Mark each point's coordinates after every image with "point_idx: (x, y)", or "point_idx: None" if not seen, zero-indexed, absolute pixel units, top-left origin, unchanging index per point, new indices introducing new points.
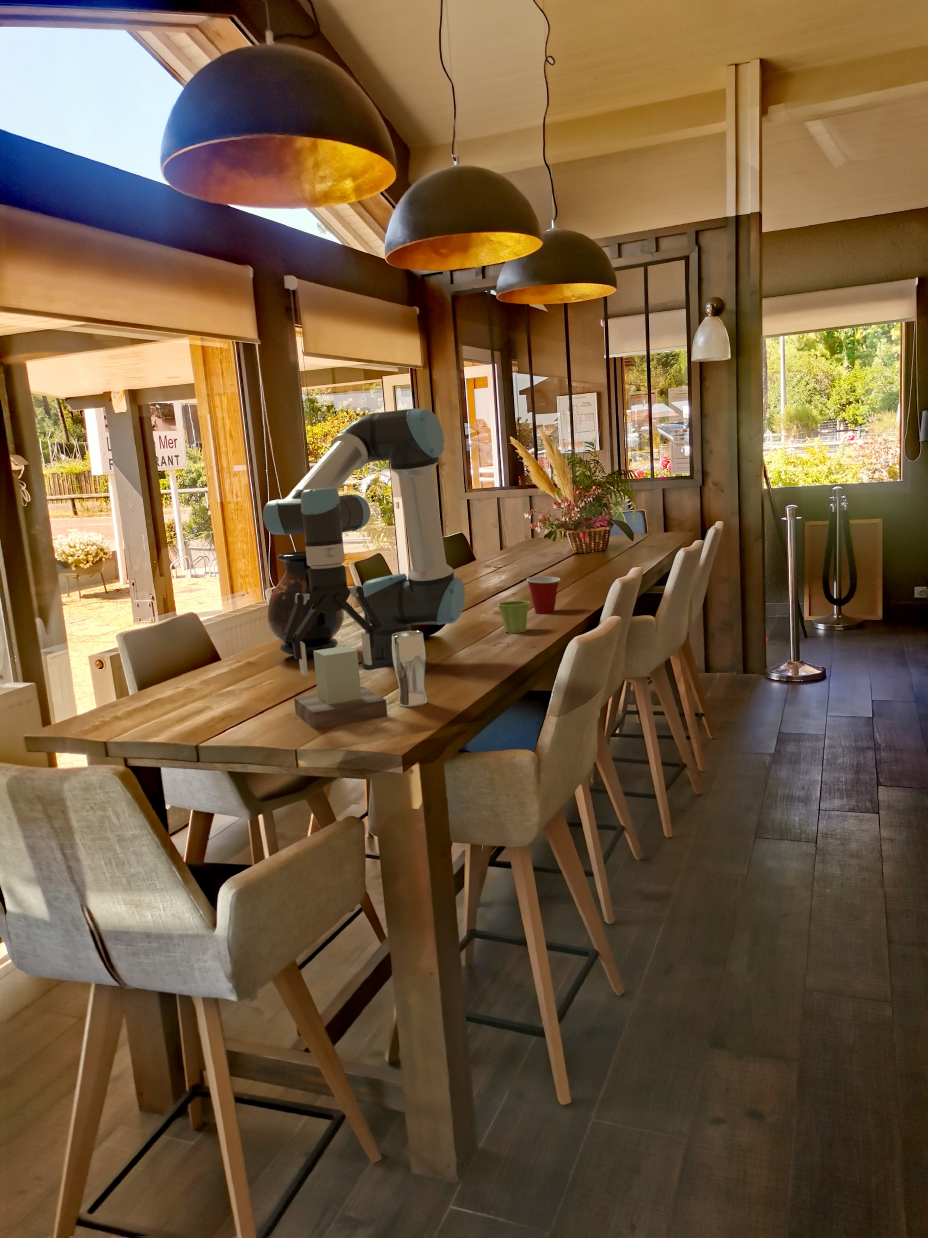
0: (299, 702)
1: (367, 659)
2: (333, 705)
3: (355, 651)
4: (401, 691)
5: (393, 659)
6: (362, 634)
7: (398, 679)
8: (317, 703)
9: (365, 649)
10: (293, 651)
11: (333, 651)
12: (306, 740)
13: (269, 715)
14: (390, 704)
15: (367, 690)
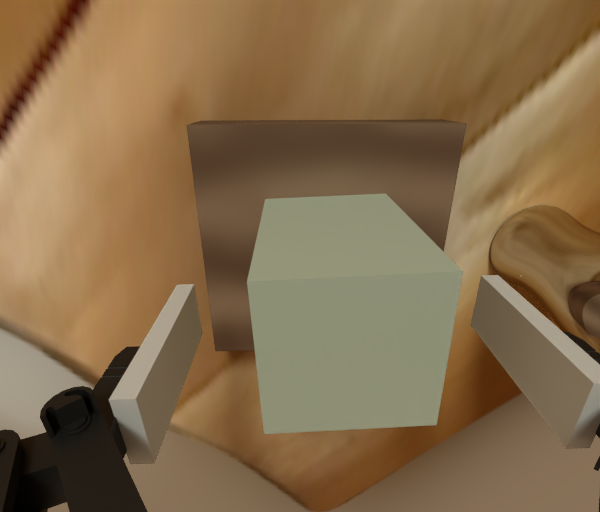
0: (197, 204)
1: (483, 335)
2: None
3: (426, 422)
4: (519, 273)
5: (590, 326)
6: (577, 394)
7: (542, 286)
8: (247, 265)
9: (512, 353)
10: (101, 379)
11: (337, 374)
12: (190, 383)
13: (110, 75)
14: (482, 212)
15: (445, 205)
